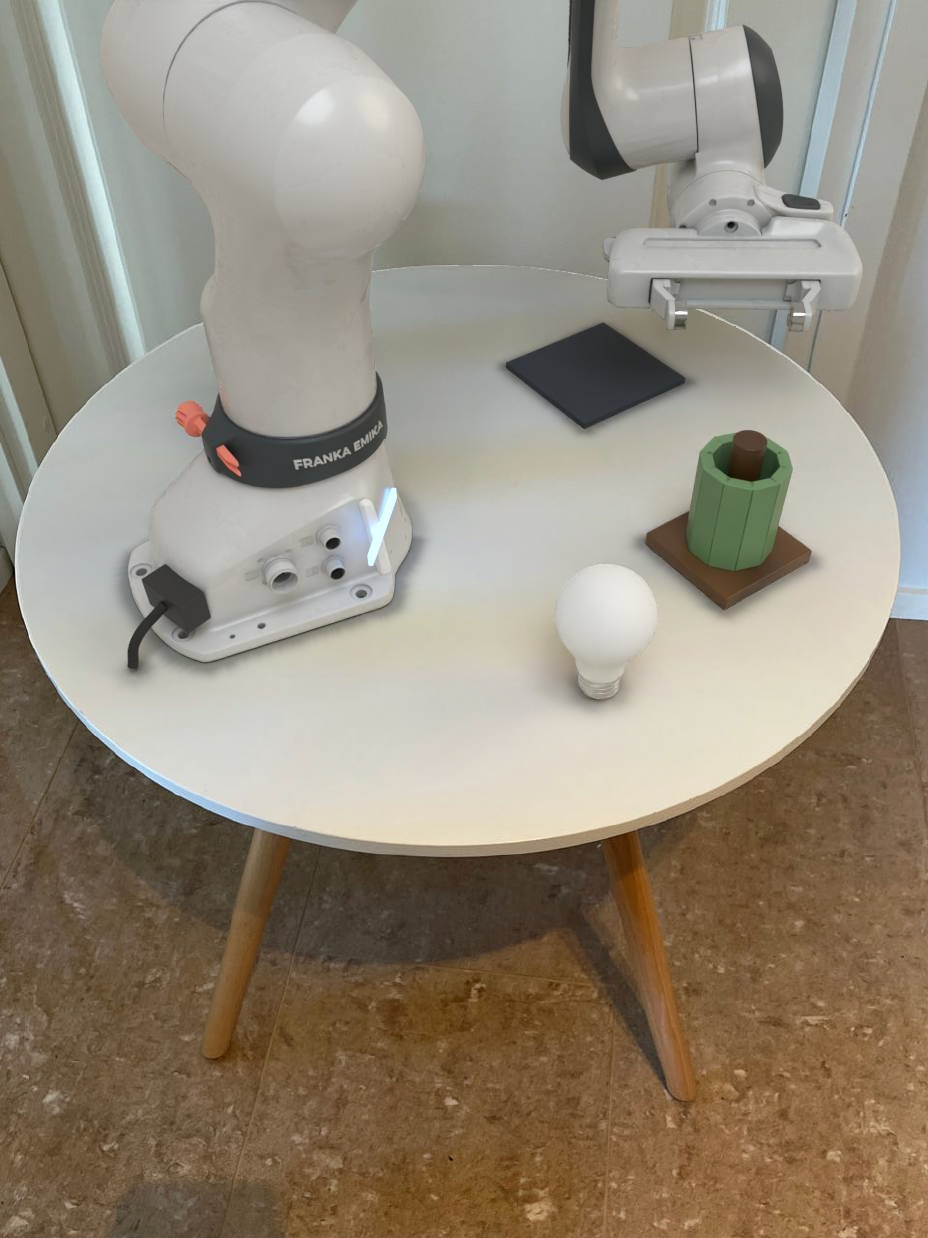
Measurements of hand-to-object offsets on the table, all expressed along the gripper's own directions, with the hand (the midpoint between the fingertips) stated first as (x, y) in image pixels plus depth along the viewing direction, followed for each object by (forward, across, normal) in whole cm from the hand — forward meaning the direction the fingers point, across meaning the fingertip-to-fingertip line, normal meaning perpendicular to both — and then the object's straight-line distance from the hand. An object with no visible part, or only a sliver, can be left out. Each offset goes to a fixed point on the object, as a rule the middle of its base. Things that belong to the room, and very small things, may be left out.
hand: (738, 323), depth 82 cm
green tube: (+12, 0, +12) cm, 17 cm away
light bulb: (+27, -10, +13) cm, 32 cm away
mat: (-12, -10, +13) cm, 20 cm away
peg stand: (+12, 0, +13) cm, 18 cm away
